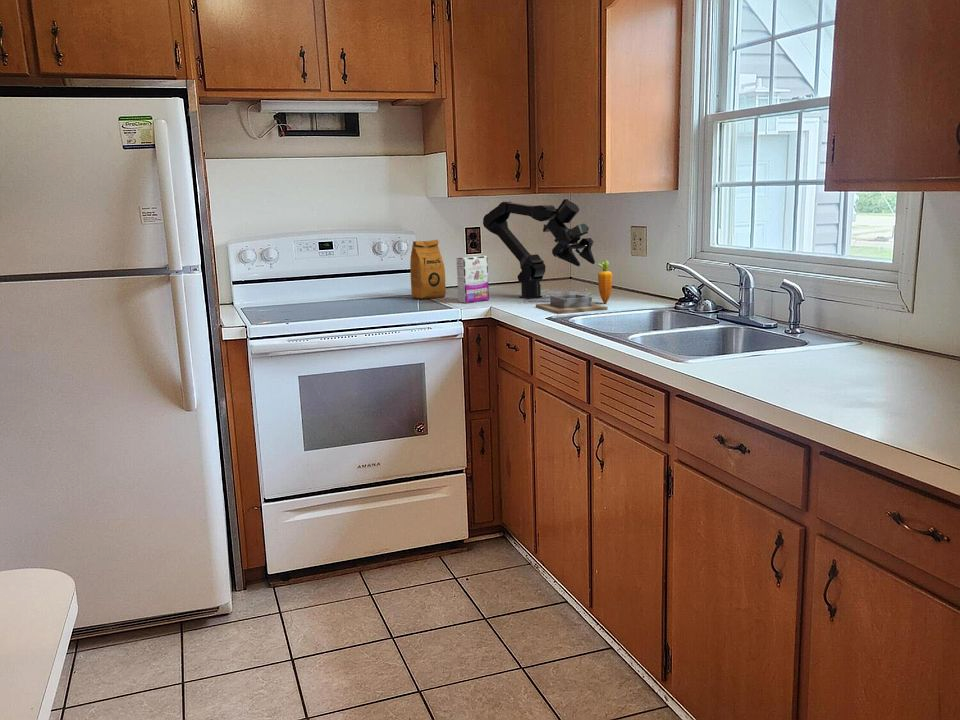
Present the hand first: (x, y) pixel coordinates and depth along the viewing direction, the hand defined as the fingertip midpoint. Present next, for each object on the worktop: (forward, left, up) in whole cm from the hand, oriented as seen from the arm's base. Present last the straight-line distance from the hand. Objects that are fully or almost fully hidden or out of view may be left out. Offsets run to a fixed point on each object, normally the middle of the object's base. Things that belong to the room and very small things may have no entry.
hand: (586, 264), depth 294 cm
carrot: (+2, -7, -14) cm, 16 cm away
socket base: (-14, -9, -13) cm, 21 cm away
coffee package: (-38, +49, -14) cm, 63 cm away
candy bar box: (-30, +29, -14) cm, 44 cm away
